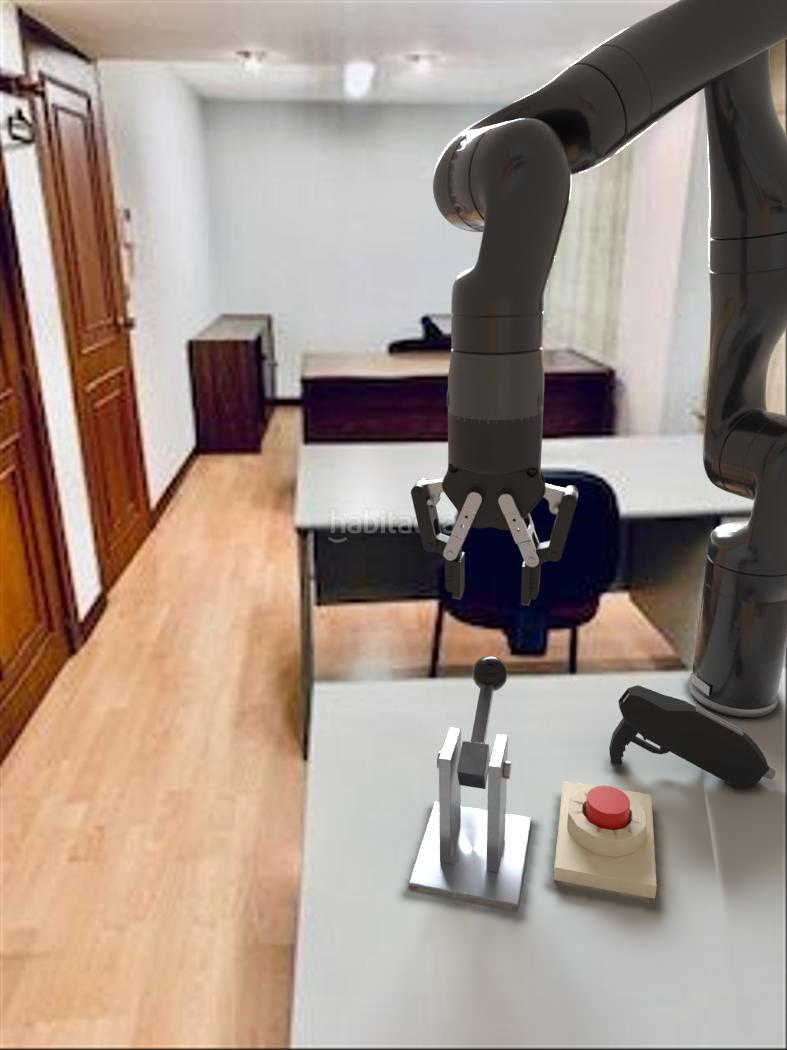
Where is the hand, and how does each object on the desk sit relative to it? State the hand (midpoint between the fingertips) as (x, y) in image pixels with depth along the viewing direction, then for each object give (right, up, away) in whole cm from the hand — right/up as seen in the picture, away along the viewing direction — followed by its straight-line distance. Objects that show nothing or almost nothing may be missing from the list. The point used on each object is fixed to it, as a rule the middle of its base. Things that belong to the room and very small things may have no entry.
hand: (491, 597), depth 66 cm
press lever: (-1, -11, +1) cm, 11 cm away
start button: (+10, -19, 0) cm, 21 cm away
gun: (+21, -19, +10) cm, 30 cm away
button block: (+10, -22, +1) cm, 24 cm away
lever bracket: (-2, -23, 0) cm, 23 cm away
